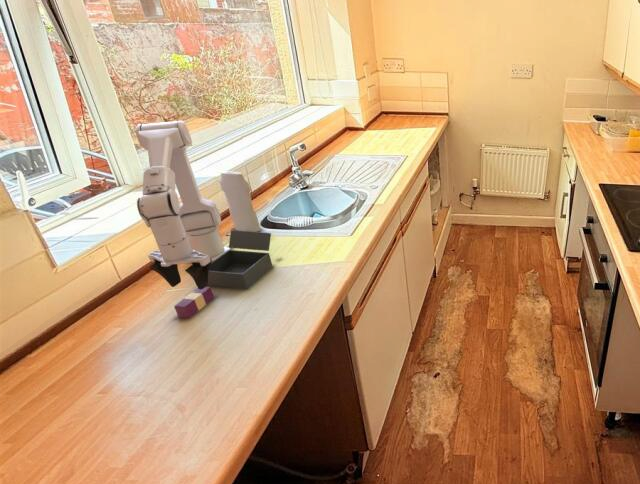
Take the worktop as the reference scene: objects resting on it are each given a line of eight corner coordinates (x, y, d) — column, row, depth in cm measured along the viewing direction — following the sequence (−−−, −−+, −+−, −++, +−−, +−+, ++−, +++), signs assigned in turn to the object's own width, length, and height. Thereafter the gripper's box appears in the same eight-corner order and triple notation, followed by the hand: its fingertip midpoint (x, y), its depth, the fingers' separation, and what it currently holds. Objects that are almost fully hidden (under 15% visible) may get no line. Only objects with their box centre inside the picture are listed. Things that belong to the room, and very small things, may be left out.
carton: (205, 285, 112) (199, 270, 110) (233, 263, 122) (229, 249, 120) (247, 288, 111) (242, 274, 109) (272, 266, 120) (269, 252, 118)
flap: (230, 230, 120) (232, 230, 120) (228, 247, 119) (229, 247, 120) (270, 233, 118) (271, 233, 119) (268, 250, 118) (268, 250, 118)
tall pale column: (229, 231, 139) (211, 172, 130) (238, 225, 143) (221, 168, 134) (257, 233, 138) (240, 174, 129) (265, 227, 142) (249, 170, 133)
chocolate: (178, 317, 100) (173, 305, 99) (204, 296, 107) (200, 285, 106) (189, 318, 100) (184, 306, 98) (214, 297, 107) (210, 286, 106)
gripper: (128, 246, 92) (149, 293, 98) (185, 250, 91) (203, 298, 97) (156, 231, 99) (174, 276, 104) (210, 235, 97) (225, 280, 103)
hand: (190, 285), depth 101 cm, fingers open, 7 cm apart
